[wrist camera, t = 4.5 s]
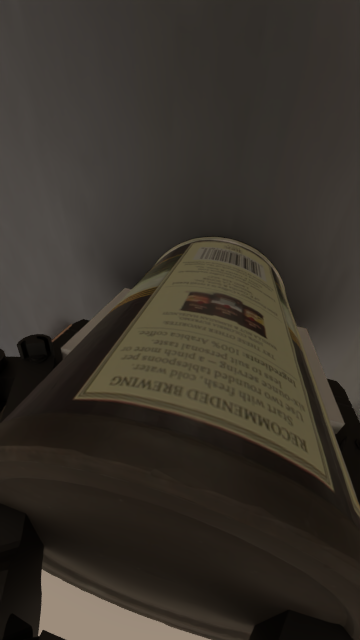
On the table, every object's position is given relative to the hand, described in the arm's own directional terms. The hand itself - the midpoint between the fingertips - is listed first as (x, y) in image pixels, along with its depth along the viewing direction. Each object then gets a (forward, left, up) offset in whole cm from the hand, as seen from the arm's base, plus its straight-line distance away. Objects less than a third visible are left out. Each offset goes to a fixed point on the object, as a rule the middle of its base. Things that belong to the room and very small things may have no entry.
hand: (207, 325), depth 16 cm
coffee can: (0, 0, -3) cm, 3 cm away
